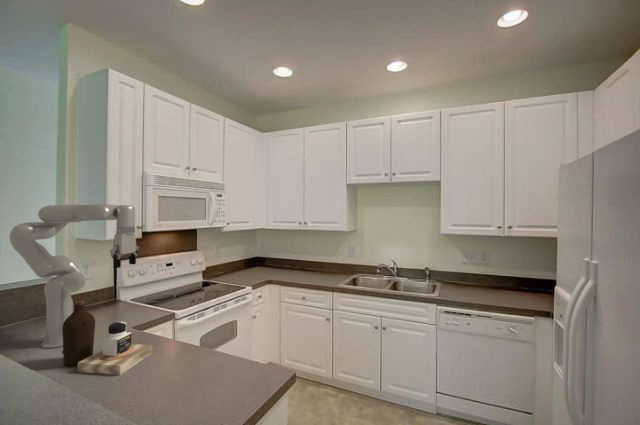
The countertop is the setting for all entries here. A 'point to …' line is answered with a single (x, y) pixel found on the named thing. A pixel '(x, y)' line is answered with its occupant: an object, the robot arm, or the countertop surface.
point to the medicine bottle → (117, 340)
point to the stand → (114, 361)
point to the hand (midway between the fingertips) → (125, 265)
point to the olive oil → (78, 335)
